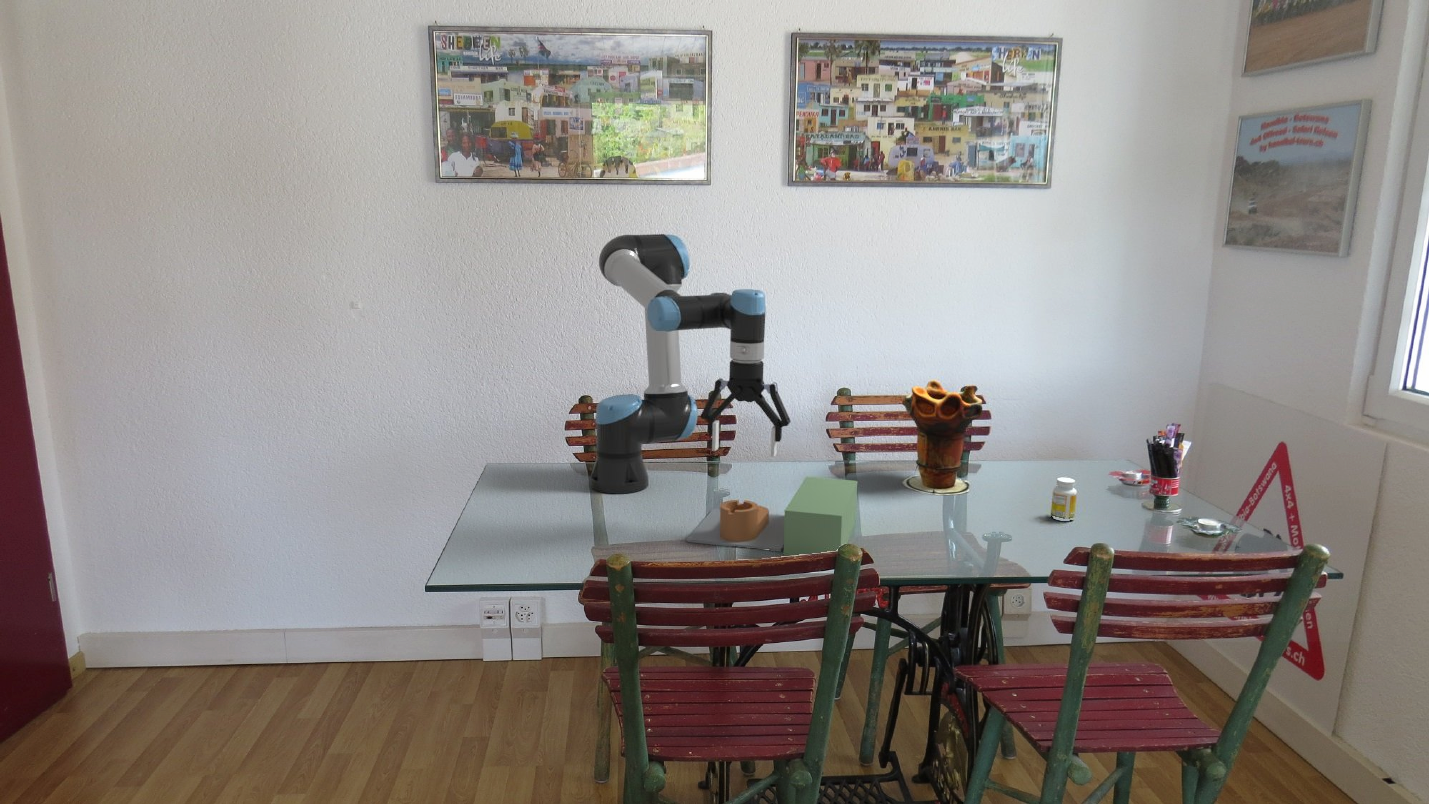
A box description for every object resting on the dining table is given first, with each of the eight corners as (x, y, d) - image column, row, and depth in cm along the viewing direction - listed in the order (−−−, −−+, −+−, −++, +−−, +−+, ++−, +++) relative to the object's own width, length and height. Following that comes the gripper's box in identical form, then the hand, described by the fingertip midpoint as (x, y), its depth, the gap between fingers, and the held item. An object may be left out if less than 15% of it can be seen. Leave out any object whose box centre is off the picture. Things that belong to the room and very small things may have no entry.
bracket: (751, 543, 208) (752, 513, 207) (715, 539, 211) (715, 509, 209) (772, 518, 225) (773, 489, 223) (738, 514, 227) (739, 486, 226)
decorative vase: (981, 474, 263) (987, 375, 255) (974, 503, 242) (981, 396, 234) (904, 467, 269) (908, 370, 262) (891, 495, 248) (895, 390, 241)
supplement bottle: (1054, 522, 226) (1058, 482, 224) (1047, 514, 231) (1050, 476, 229) (1077, 522, 226) (1081, 483, 224) (1069, 514, 231) (1073, 476, 229)
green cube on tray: (684, 544, 209) (684, 500, 207) (715, 508, 233) (715, 468, 231) (840, 561, 200) (841, 515, 198) (855, 522, 225) (857, 480, 223)
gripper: (687, 359, 212) (686, 451, 217) (799, 367, 206) (795, 461, 211) (697, 353, 219) (696, 443, 224) (805, 360, 213) (801, 453, 218)
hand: (744, 452), depth 218 cm, fingers open, 13 cm apart
